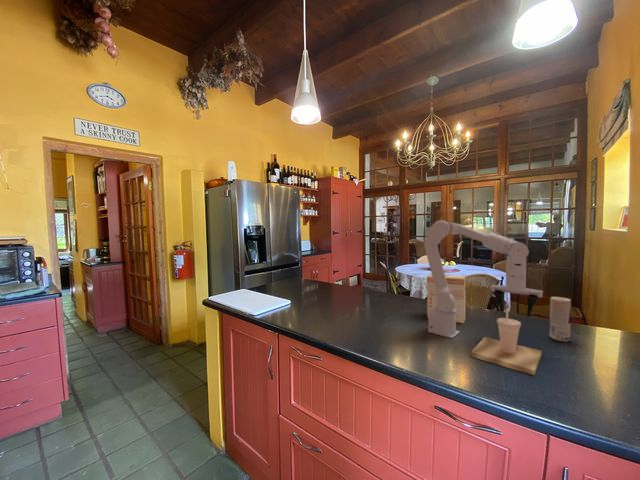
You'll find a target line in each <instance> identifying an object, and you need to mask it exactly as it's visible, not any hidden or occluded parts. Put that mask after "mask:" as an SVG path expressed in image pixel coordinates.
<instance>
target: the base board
mask: <svg viewBox="0 0 640 480" xmlns="http://www.w3.org/2000/svg"><path fill="white" fill-rule="evenodd" d="M542 353H543V350H540V349H536V348H532V347H528V346H523V345H520V344H517V345H516V351H515V353H507V352H504V351H502V350H501V343H500V339H494V338H491V337H487V336H484V337H483V338H482V339H481V340H480V342H479V343H478V344H477V345H476V346H475V347H474V348H472V350H471V351H470V358H471V357H472V358H474V359H479V360H481V361H485V362H488V363H492V364H493V365H494V364H495V365H498V366H501V367H503V368H508V369H511V370H515V371H518V372H522V373H525V374H528V375H532V376H536V372H537V369H538V367H539V364H540V361H541V359H542V357H543V354H542Z"/></svg>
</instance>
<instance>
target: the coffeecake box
mask: <svg viewBox="0 0 640 480" xmlns="http://www.w3.org/2000/svg"><path fill="white" fill-rule="evenodd" d="M445 277H446V281H447V284H448V287H449V290H450V292H451V293H452V295H453V296H454V303H455V308H454V309H455V310H456V323H460V324H465V321H466V276H465V275H453V274H451V275H450V274H445ZM426 280H427V281H426V283H427V284H426V286H427V287H426V289H427V292H426V293H427V298H426V300H427V303H426V305H427V306H426V308H427V311H426V312H427V318H428V316H429V311H430V309H431V308H436V307H437V304H436V303H437V294H436V288H435V284H434V280H433V277H432V273H429V274H428V275H427V278H426Z"/></svg>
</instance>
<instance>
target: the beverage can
mask: <svg viewBox="0 0 640 480" xmlns="http://www.w3.org/2000/svg"><path fill="white" fill-rule="evenodd" d="M571 314H572V300H571V299H570V298H566V297H561V296H551V297H550V300H549V337H550V338H551V339H553V340H555V341H558V342H569V341H570V340H571V325H572V324H571V321H572V320H571V317H572V315H571Z"/></svg>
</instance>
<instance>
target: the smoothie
mask: <svg viewBox="0 0 640 480" xmlns="http://www.w3.org/2000/svg"><path fill="white" fill-rule="evenodd" d="M496 324H497V326H498V327H497V328H498V334H499V340H500V343H501V350H502V351H504V352H507V353H515V351H516V345H518V339H519V333H520V328H521V327H522V323H521V321H518V320H516V319H513V318H509V307H505V317H499V318H496Z"/></svg>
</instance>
